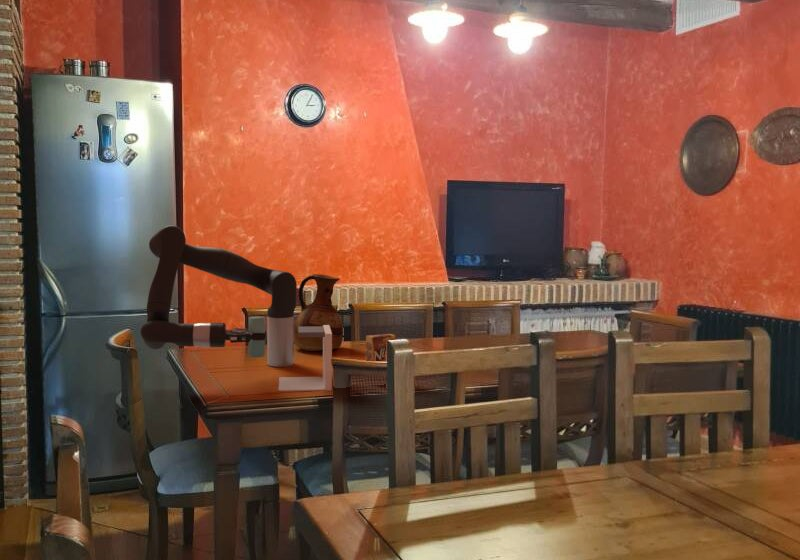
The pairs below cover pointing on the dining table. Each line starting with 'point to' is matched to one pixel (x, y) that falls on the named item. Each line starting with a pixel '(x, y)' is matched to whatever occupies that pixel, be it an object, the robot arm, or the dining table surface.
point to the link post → (256, 346)
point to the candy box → (377, 346)
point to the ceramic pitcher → (318, 314)
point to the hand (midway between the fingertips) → (265, 335)
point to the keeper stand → (326, 380)
